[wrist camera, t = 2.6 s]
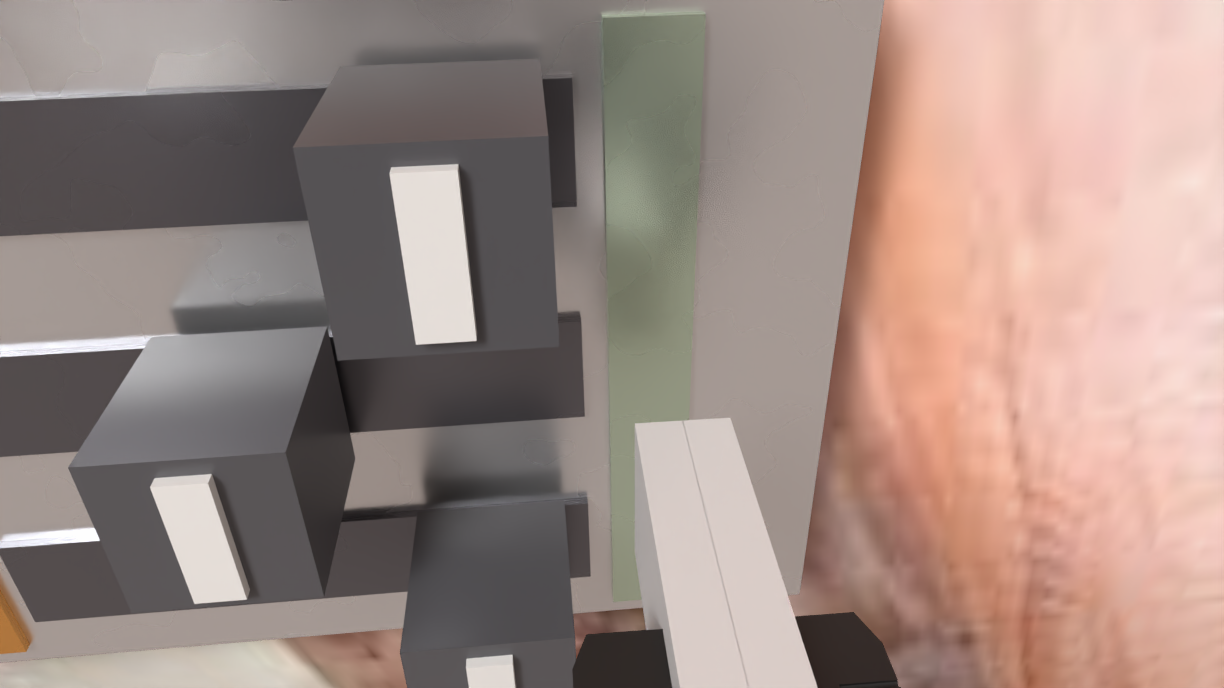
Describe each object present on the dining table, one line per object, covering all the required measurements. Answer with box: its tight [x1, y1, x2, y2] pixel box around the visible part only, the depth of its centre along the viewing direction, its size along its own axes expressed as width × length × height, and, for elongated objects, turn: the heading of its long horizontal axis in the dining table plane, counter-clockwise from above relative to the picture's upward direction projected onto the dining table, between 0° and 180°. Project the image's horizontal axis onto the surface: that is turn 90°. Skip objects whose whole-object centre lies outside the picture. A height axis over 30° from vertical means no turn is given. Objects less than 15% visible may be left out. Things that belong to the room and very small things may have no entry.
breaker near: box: [293, 59, 559, 361], centre depth 13 cm, size 3×3×4 cm
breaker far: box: [400, 501, 576, 688], centre depth 18 cm, size 3×3×4 cm
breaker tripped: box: [68, 326, 355, 613], centre depth 15 cm, size 3×3×4 cm
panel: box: [0, 0, 884, 663], centre depth 18 cm, size 22×14×2 cm, turn 91°
